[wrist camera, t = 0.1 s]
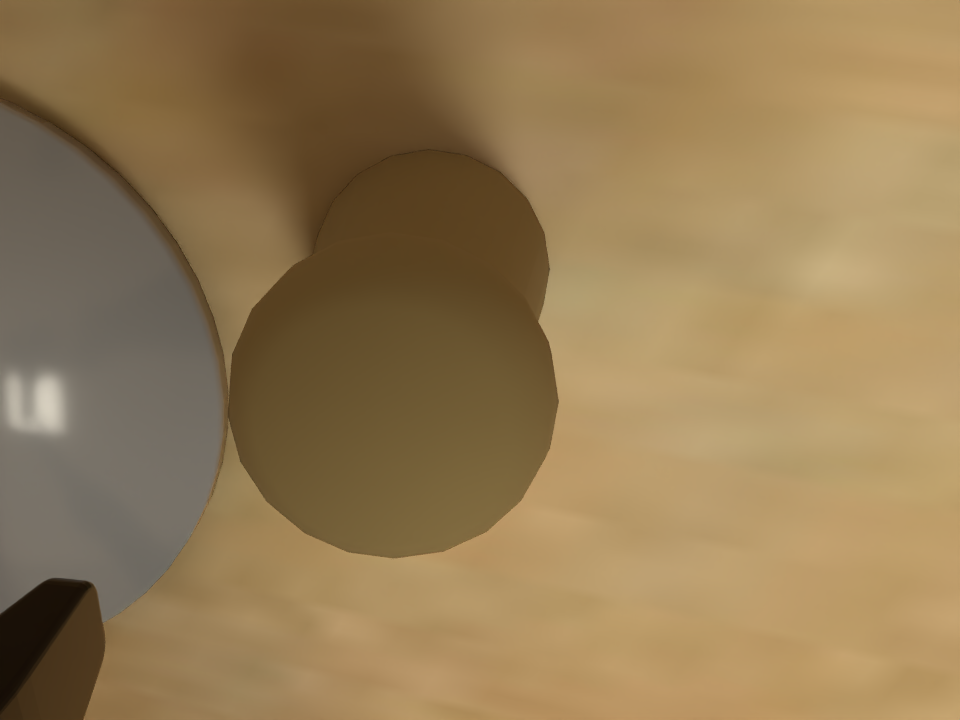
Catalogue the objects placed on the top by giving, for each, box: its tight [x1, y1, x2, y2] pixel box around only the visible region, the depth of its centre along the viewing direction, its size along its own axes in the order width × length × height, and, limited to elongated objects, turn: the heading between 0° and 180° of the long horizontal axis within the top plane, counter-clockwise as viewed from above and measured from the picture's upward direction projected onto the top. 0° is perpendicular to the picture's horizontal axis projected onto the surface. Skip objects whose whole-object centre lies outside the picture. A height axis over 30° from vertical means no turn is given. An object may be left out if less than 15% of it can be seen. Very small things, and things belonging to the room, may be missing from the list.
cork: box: [228, 150, 559, 558], centre depth 18 cm, size 6×6×11 cm
